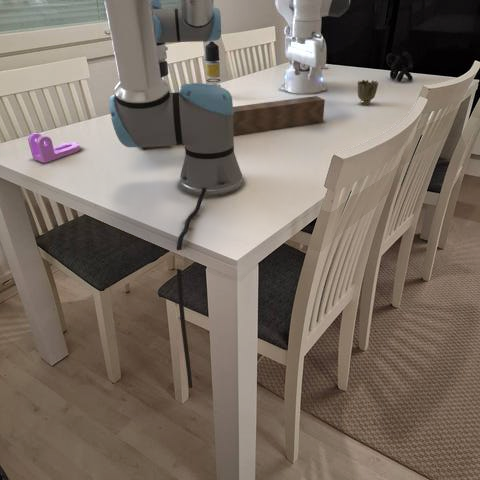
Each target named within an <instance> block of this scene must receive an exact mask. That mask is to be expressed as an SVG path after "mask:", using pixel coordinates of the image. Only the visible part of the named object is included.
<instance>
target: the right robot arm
mask: <svg viewBox="0 0 480 480" xmlns="http://www.w3.org/2000/svg"><path fill="white" fill-rule="evenodd" d="M350 4H351V0H274V5H275V8H276V10H277V12H278V14H280V16H282V17H283V18H284V19H285V21H286V22H287V24H288V25H286V26H285V27H284V35H285V37H284V54H285V58H286V59H289V66H288V67H287V68H286V69H285V75H284V79H285V82H284V84H283V85H282V86H280V90H281V91H286V92H288V93H292V94H299V95H300V94H301V95H307V94H308V95H309V94H315V93H319V92H324V91H325V92H326V90H327V88H326V86H325V85H324V84H323V69H322V68H325V67H324V66H325V64H326V65H327V43H326V40H325V38H324V36H323V34H322V33H321V32H322V20H323V19H322V17H335V18H339V17H341V16H342V15H344V14H345V13H346V12H347V11H348V9H350Z"/></svg>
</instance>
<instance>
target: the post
mask: <svg viewBox="0 0 480 480" xmlns="http://www.w3.org/2000/svg"><path fill="white" fill-rule="evenodd" d="M325 104H326V100H325V99H324V98H322V97H319V96H317V95H314V96H312V95H311V96H306V97H299V98H291V99H281V100H274V101H268V102H267V101H266V102H260V103H251V104H245V105H244V104H243V105H236V106H233V110H234V114H233V134H234V137H235V136H241V135H246V134H248V135H249V134H253V133H254V134H255V133H260V132H267V131H274V130H280V129H287V128H293V127H299V126H306V125H313V124H314V125H315V124H319V123H323V122H324V114H325ZM161 147H162V148H163V146H158V147H157V148H161ZM155 148H156V147H145V148H141V150H148V149H155Z"/></svg>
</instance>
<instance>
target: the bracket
mask: <svg viewBox="0 0 480 480" xmlns="http://www.w3.org/2000/svg"><path fill="white" fill-rule="evenodd" d="M27 141H28V142H27V143H28V145H29V149H30V153H31V157H32V159H33V160H35V161H38V162H40V163H42V164H47V163H49V162H51V161H52V162H53V161H55V160H58V159H60V158H63V157H66V156H69V155H71V154H75V153H77V152H79V151H80V150H81V148H80V147H81V146H80V144H79V142H75V141H73V142H72V141H71V142H65V143H61V144H59V145H55V146H54V145H53V141H52V139H51V138H50V137H49V136H48V135H42V134H40V133H38V132H32V133H30V134H29V135H28V137H27Z"/></svg>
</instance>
